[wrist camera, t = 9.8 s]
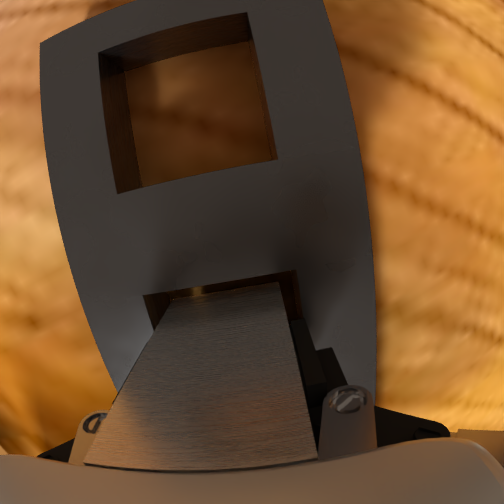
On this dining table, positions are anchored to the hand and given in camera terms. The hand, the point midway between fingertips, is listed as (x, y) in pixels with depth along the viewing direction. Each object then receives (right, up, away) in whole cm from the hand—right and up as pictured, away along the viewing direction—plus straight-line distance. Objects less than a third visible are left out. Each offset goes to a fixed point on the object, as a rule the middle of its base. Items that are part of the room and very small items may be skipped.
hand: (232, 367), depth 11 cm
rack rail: (0, +1, +4) cm, 4 cm away
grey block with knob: (0, +1, +2) cm, 2 cm away
